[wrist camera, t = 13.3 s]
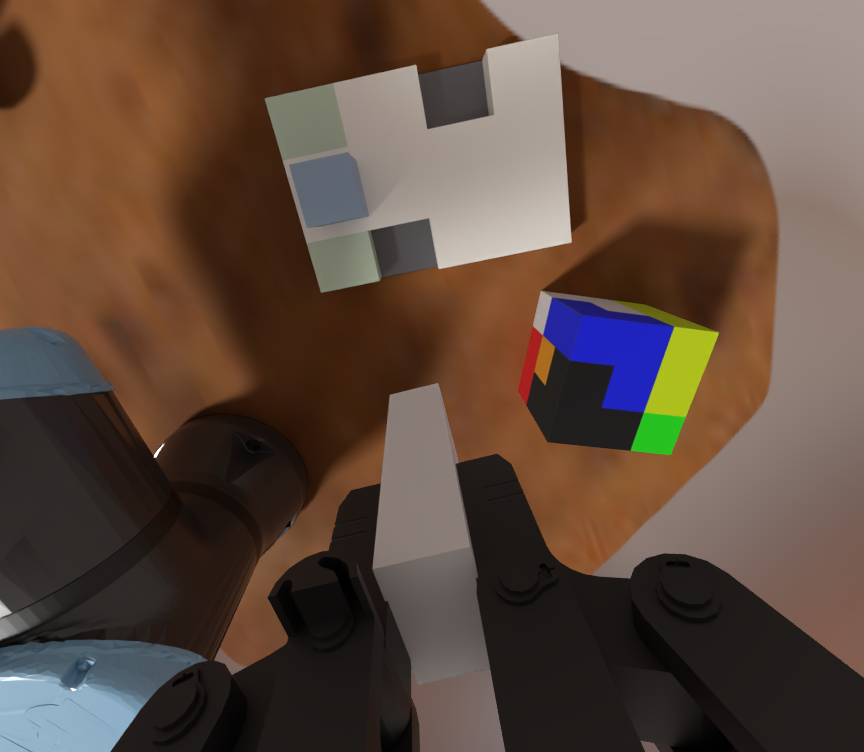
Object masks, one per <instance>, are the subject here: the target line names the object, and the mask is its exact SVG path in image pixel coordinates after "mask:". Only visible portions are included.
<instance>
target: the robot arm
mask: <svg viewBox="0 0 864 752" xmlns="http://www.w3.org/2000/svg"><path fill="white" fill-rule="evenodd" d="M112 390H115V388H114V385H113V384H112V383H110V382H107V381H106V380H105V379H104V377H103V376H102V375H101V373H100V372H99V370H98V369H97V368H96V366H95V365H94V363H93V362H92V361H91V359H90V358H89V356H88V355H87V354H86V352H85V351H84V349H83V348H82V347H81V345H80V344H79V343H78V342H77V341H76V340H75V339H74V338H73V337H71V336H70V335H68V334H66V333H64V332H62V331H60V330H57V329H53V328H49V327H37V326H33V327H20V328H12V329H4V330H0V752H420V739H419V722H418V716H417V712H416V708H415V705H414V703H413V700H412V698H411V669H412V671H413V674H414V677H415V679H416V682H417V684H418V685H420V684H425V683H429V682H434V681H438V680H442V679H447V678H451V677H456V676H460V675H465V674H469V673H473V672H478V671H483V670H487V669H490V670H491V675H492V681H493V687H494V692H495V697H496V703H497V708H498V714H499V719H500V725H501V730H502V736H503V741H504V746H505V751H506V752H645V751H644V748H643V746H642V744H641V742H640V740H641V741H646V742H651V743H655V745H656V747H657V748H658V750H659V751H660V752H864V678H863V677H862V676H860V675H859V674H858V673H857V672H855V671H854V670H853V669H851V668H850V667H849V666H848V665H846V664H845V663H844V662H842V661H841V660H840V659H838V658H837V657H836V656H835V655H833V654H832V653H831V652H829V651H828V650H827V649H826V648H824V647H823V646H822V645H820V644H819V643H818V642H817V641H815V640H814V639H813V638H811V637H810V636H809V635H807V634H806V633H805V632H803V631H802V630H801V629H800V628H798V627H797V626H796V625H794V624H793V623H792V622H790V621H789V620H788V619H787V618H785V617H784V616H783V615H781V614H780V613H779V612H777V611H776V610H775V609H774V608H772V607H771V606H769V605H768V604H767V603H766V602H764V601H763V600H762V599H761V598H759V597H758V596H757V595H755V594H754V593H753V592H751V591H750V590H749V589H748V588H746V587H745V586H744V585H742V584H741V583H740V582H738V581H737V580H736V579H735V578H733V577H732V576H731V575H729V574H728V573H727V572H725V571H723V570H721V569H720V568H718V567H716V566H715V565H713V564H711V563H709V562H708V561H705V560H702V559H698V558H695V557H692V556H689V555H685V554H661V555H657V556H653V557H649V558H646V559H645V560H644V561H643V562H641V563H640V564H639V565H638V566H637V567H635V568H634V571H633V573H632V576H631V578H630V579H628V578H612V577H598V576H592V575H586V574H583V573H580V572H577V571H574V570H572V569H570V568H568V567H567V566H565V565H563V564H562V563H560V562H559V561H558V560H557V559H556V558H555V557H554V556H553V555H552V554H551V552H550V551H549V549H548V547H547V546H546V543H545V541H544V539H543V536H542V534H541V532H540V530H539V527H538V525H537V523H536V520H535V518H534V516H533V513H532V511H531V509H530V506H529V504H528V502H527V499H526V497H525V495H524V493H523V490H522V488H521V485H520V483H519V482H518V478H517V476H516V474H515V471H514V469H513V467H512V464H510V463H509V462H508V461H506V460H505V459H504V458H502V457H501V456H500V455H498V454H494V455H490V456H486V457H482V458H478V459H473V460H469V461H465V462H461V463H459V462H458V458H457V454H456V450H455V446H454V442H453V438H452V434H451V431H450V427H449V423H448V419H447V415H446V411H445V407H444V403H443V399H442V395H441V392H440V388H439V384H438V383H436V384H432V385H428V386H424V387H420V388H416V389H412V390H407V391H403V392H399V393H395V394H391V395H390V398H389V408H388V418H387V428H386V438H385V448H384V458H383V468H382V478H381V483H380V484H376V485H372V486H368V487H363V488H359V489H355V490H351V491H350V493H349V494H348V495H347V497H346V498H345V500H344V501H343V502H342V504H341V505H340V506H339V510H338V514H337V518H336V522H335V528H334V530H333V535H332V542H331V543H330V547H329V551H322V552H319V553H316V554H314V555H311V556H308V557H306V558H304V559H303V560H301V561H300V562H298V563H297V564H295V565H294V566H292V567H291V568H289V569H288V570H287V571H286V572H285V573H284V575H283V576H282V577H281V578H280V579H279V580H278V581H277V582H276V583H275V585H274V587H273V589H272V591H271V592H270V594H269V596H268V599H269V601H270V603H271V605H272V607H273V609H274V611H275V613H276V614H277V616H278V618H279V620H280V622H281V624H282V626H283V627H284V629H285V631H286V633H287V635H288V637H289V638H288V641H287V644H285V645H284V646H283V647H281V648H280V649H278V650H277V651H275V652H273V653H272V654H270V655H268V656H267V657H265V658H263V659H261V660H259V661H257V662H255V663H254V664H252V665H250V666H248V667H246V668H244V669H243V670H241V671H239V672H237V673H235V674H233V675H231V673H230V672H229V670H228V668H227V667H226V665H225V664H223V663H220V662H217V661H214V659H215V657H216V654H217V652H218V650H219V648H220V646H221V643H222V641H223V639H224V637H225V634H226V632H227V630H228V628H229V625H230V623H231V621H232V619H233V616H234V614H235V612H236V610H237V607H238V605H239V603H240V601H241V598H242V596H243V594H244V592H245V589H246V587H247V585H248V583H249V580H250V578H251V576H252V574H253V571H254V569H255V567H256V565H257V563H258V561H259V558H260V557H261V556H262V555H263V554H264V553H265V552H266V551H267V550H268V549H269V548H270V547H271V546H272V545H273V544H274V543H275V542H276V541H277V539H279V538H280V537H281V536H282V535H284V534H285V533H286V532H287V531H288V530H289V529H290V527H291V526H292V525H293V523H294V522H295V520H296V519H297V517H298V515H299V513H300V510H301V508H302V506H303V503H304V501H305V498H306V494H307V486H308V482H307V474H306V470H305V466H304V464H303V461H302V460H301V458H300V456H299V454H298V453H297V451H296V450H295V448H294V447H293V446H292V445H291V444H290V443H289V442H288V440H286V439H285V438H284V437H283V436H282V435H281V434H279V433H278V432H277V431H275V430H274V429H272V428H270V427H269V426H267V425H265V424H263V423H261V422H258V421H256V420H253V419H250V418H246V417H242V416H236V415H225V414H223V415H210V416H205V417H201V418H197V419H195V420H192V421H190V422H188V423H186V424H185V425H183V426H181V427H180V428H179V429H178V430H176V431H175V432H174V433H173V434H172V435H171V436H170V437H168V438H167V439H166V440H165V441H164V442H163V443H162V444H161V445H160V447H159V448H158V449H157V451H156V452H155V454H154V455H152V453H151V451H150V450H149V448H148V447H147V445H146V444H145V442H144V440H143V439H142V437H141V436H140V434H139V432H138V431H137V429H136V428H135V426H134V424H133V423H132V421H131V420H130V418H129V416H128V415H127V413H126V412H125V410H124V409H123V407H122V405H121V404H120V402H119V401H118V399H117V397H116V396H115V394H114V393H113V391H112Z"/></svg>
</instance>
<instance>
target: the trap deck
mask: <svg viewBox="0 0 864 752" xmlns="http://www.w3.org/2000/svg"><path fill="white" fill-rule="evenodd" d="M558 38H559V37H558V33H557V34H552V35H548V36H543V37H539V38H534V39H530V40H525V41H521V42H516V43H512V44H507V45H503V46H498V47H494V48H489V49H487V50H486V52H485V55H484V57H483V60H482V61H478V62H473V63H469V64H464V65H459V66H455V67H450V68H446V69H441V70H437V71H432V72H428V73H423V74H419V75H418V72H417V66H416V65H413V66H408V67H404V68H399V69H395V70H390V71H386V72H381V73H377V74H372V75H368V76H363V77H359V78H354V79H350V80H345V81H341V82H336V83H332V84H327V85H323V86H318V87H314V88H309V89H305V90H300V91H296V92H291V93H287V94H282V95H278V96H273V97H269V98H265V102H266V105H267V108H268V112H269V115H270V119H271V122H272V126H273V129H274V133H275V136H276V139H277V143H278V146H279V150H280V153H281V157H282V160H283V164H284V167H285V170H286V174H287V177H288V181H289V184H290V188H291V191H292V194H293V198H294V201H295V205H296V208H297V212H298V215H299V219H300V222H301V225H302V229H303V232H304V236H305V239H306V243H307V246H308V250H309V253H310V256H311V260H312V263H313V267H314V270H315V274H316V277H317V280H318V284H319V287H320V291H321V293H323V292H328V291H333V290H338V289H343V288H348V287H353V286H358V285H363V284H368V283H373V282H377V281H380V280H381V278H382V277H387V276H392V275H397V274H402V273H407V272H412V271H417V270H421V269H426V268H431V267H436V266H438V268H439V269H442V268H447V267H452V266H457V265H462V264H467V263H472V262H477V261H482V260H487V259H492V258H497V257H502V256H507V255H512V254H517V253H522V252H527V251H532V250H537V249H542V248H546V247H551V246H556V245H561V244H566V243H571V227H570V211H569V195H568V179H567V164H566V148H565V132H564V116H563V100H562V85H561V69H560V54H559V39H558ZM346 152H348V153H349V154H350V155H351V156H352V157H353V158H354V159H356V161H357V165H358V170H359V174H360V178H361V183H362V187H363V191H364V196H365V200H366V204H367V209H368V213H369V217H365V218H360V219H355V220H350V221H345V222H340V223H336V224H331V225H326V226H321V227H311V228H307V227H306V223H305V220H304V216H303V213H302V209H301V206H300V202H299V199H298V195H297V192H296V188H295V185H294V181H293V178H292V174H291V171H290V167H289V165H290V164H295V163H299V162H304V161H309V160H313V159H318V158H323V157H327V156H332V155H337V154H341V153H346Z"/></svg>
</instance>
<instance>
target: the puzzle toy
mask: <svg viewBox="0 0 864 752" xmlns="http://www.w3.org/2000/svg"><path fill="white" fill-rule="evenodd" d="M718 334H719V332H716V331H714V330H711V329H709V328H706V327H703V326H701V325H698V324H695V323H693V322H690V321H687V320H685V319H682V318H680V317H677V316H674V315H672V314H669V313H666V312H664V311H661V310H658V309H656V308H653V307H651V306H648V305H645V304H637V303H630V302H622V301H615V300H607V299H600V298H592V297H585V296H577V295H570V294H562V293H554V292H547V291H541V293H540V297H539V302H538V306H537V310H536V315H535V319H534V324H533V328H532V332H531V337H530V341H529V346H528V350H527V354H526V359H525V363H524V368H523V372H522V376H521V381H520V385H519V390H518V392H519V393H520V395H521V397H522V399H523V400H524V402H525V404H526V405H527V407H528V409H529V411H530V412H531V414H532V416H533V418H534V419H535V421H536V423H537V424H538V426H539V428H540V430H541V431H542V433H543V435H544V437H545V438H546V440H547V442H551V443H561V444H571V445H580V446H590V447H600V448H609V449H619V450H629V451H639V452H648V453H658V454H668V455H671V453H672V450H673V448H674V445H675V443H676V440H677V438H678V435H679V433H680V430H681V428H682V425H683V423H684V420H685V417H686V415H687V412H688V410H689V407H690V405H691V402H692V400H693V397H694V395H695V392H696V390H697V387H698V385H699V382H700V380H701V377H702V375H703V372H704V370H705V367H706V365H707V362H708V360H709V357H710V354H711V352H712V349H713V347H714V344H715V342H716V339H717V337H718Z"/></svg>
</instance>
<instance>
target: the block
mask: <svg viewBox="0 0 864 752" xmlns="http://www.w3.org/2000/svg"><path fill="white" fill-rule="evenodd" d="M289 167H290V171H291V174H292V178H293V181H294V185H295V188H296V192H297V195H298V199H299V202H300V206H301V209H302V213H303V216H304V220H305V223H306V227H307V228H311V227H321V226H326V225H331V224H336V223H340V222H345V221H350V220H355V219H360V218H365V217H369V213H368V209H367V204H366V200H365V196H364V191H363V187H362V183H361V178H360V174H359V170H358V165H357V161H356V159H354V158H353V157H352V156H351V155H350V154H349V153H348V152H346V153H341V154H337V155H332V156H327V157H323V158H318V159H313V160H309V161H304V162H299V163H295V164H290V165H289Z"/></svg>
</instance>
